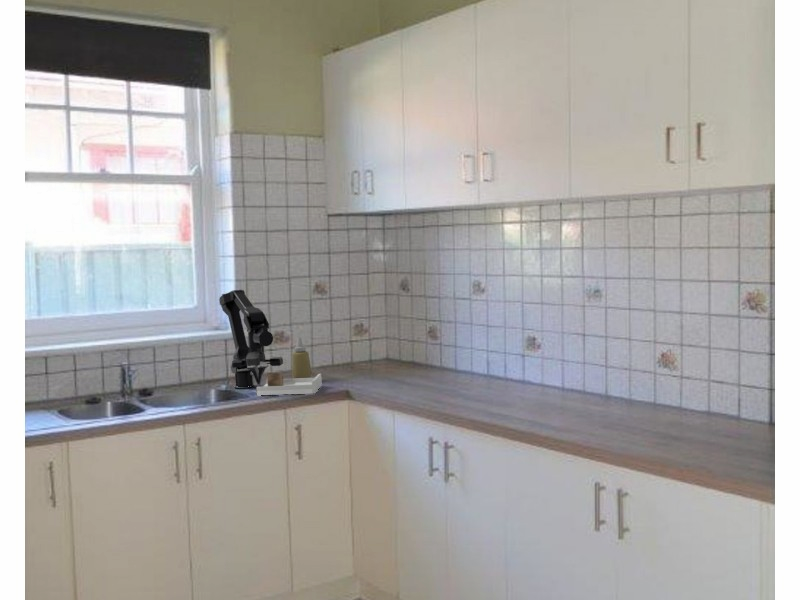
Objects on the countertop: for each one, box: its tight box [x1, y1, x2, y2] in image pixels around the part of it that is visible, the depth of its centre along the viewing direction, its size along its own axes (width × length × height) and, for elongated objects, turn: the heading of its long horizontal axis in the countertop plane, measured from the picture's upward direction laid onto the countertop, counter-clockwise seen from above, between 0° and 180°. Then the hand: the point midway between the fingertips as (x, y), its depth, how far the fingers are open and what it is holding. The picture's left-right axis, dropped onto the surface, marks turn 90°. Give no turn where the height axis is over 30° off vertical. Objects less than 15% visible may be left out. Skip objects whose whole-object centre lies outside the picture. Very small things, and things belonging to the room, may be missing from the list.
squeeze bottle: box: [291, 337, 312, 379], centre depth 351 cm, size 8×8×18 cm
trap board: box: [256, 373, 323, 397], centre depth 332 cm, size 22×16×5 cm
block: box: [266, 372, 284, 386], centre depth 332 cm, size 5×5×5 cm
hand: (258, 384), depth 333 cm, fingers closed
